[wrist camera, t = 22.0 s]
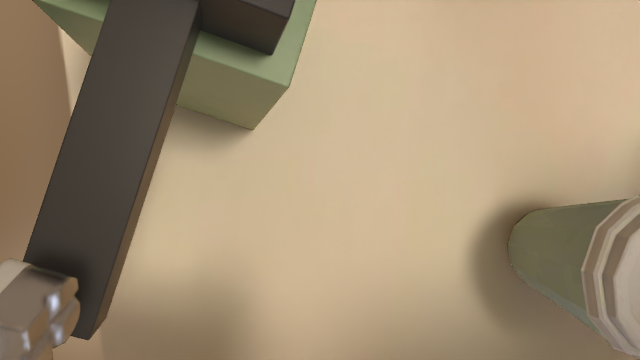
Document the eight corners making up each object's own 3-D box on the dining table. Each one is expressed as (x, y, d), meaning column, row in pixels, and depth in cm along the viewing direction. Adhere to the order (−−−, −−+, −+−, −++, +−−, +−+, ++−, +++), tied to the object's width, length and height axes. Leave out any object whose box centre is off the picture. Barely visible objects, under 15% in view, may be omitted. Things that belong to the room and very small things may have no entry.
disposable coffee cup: (608, 275, 47) (790, 321, 32) (508, 332, 45) (651, 410, 30) (564, 166, 46) (730, 162, 31) (459, 220, 44) (582, 243, 29)
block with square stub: (332, -133, 21) (367, -226, 16) (185, 327, 20) (175, 377, 15) (131, -221, 20) (102, -354, 15) (-37, 271, 19) (-128, 307, 14)
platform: (292, 8, 41) (363, -146, 21) (253, 130, 40) (289, 88, 21) (165, -41, 39) (113, -259, 19) (122, 87, 38) (25, -5, 19)
